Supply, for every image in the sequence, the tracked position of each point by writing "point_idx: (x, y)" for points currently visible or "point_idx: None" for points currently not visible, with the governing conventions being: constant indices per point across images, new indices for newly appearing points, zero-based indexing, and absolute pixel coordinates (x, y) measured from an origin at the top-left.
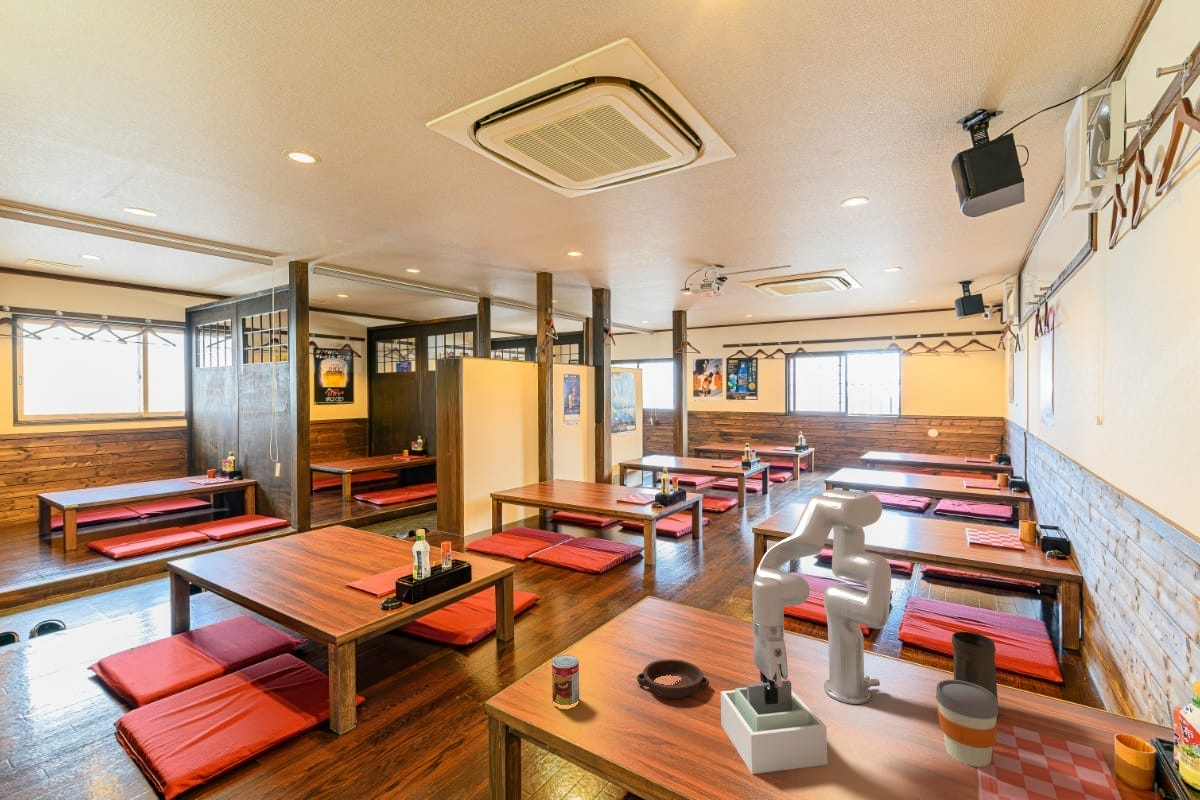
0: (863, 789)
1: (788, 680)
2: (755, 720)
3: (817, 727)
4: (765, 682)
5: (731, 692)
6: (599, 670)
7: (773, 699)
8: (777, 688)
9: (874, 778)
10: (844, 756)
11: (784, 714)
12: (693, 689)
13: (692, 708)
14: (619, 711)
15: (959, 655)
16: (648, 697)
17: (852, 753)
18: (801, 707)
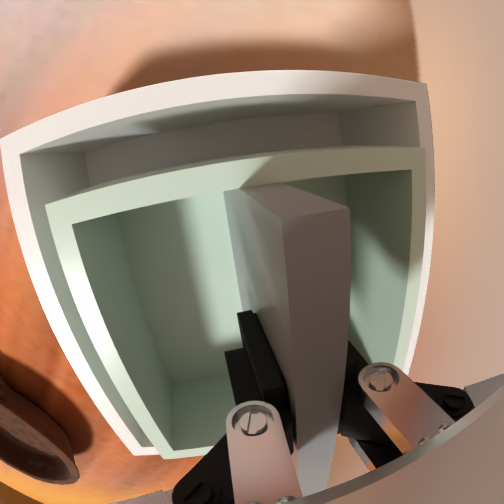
0: (417, 74)
1: (285, 226)
2: None
3: (431, 128)
4: (291, 447)
5: (130, 432)
6: (37, 483)
7: None
8: (389, 370)
9: (385, 24)
10: (305, 32)
11: (418, 288)
12: (33, 415)
13: (84, 412)
14: (140, 490)
15: None
16: (78, 461)
17: (291, 5)
18: (391, 160)
